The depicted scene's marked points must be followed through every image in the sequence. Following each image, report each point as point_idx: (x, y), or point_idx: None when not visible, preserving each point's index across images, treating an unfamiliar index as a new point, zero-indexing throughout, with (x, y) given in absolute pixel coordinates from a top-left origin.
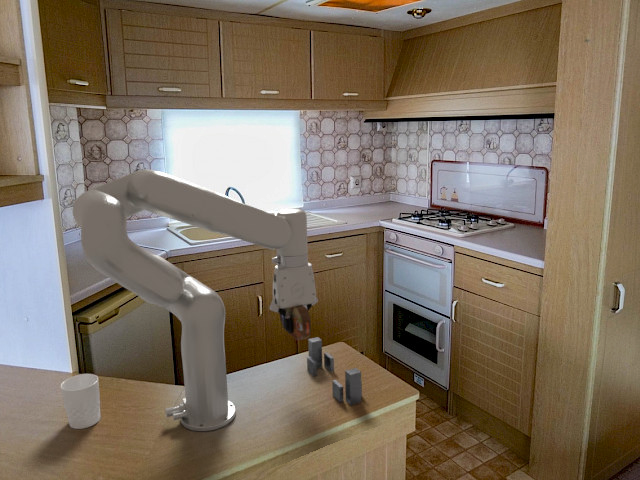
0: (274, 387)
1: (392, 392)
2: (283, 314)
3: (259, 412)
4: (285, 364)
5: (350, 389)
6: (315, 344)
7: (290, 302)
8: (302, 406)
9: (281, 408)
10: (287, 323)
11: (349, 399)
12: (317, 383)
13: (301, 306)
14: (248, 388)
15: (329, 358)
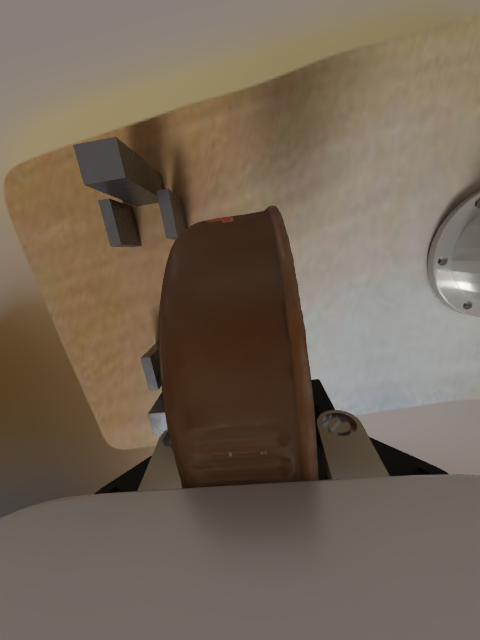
0: (305, 324)
1: (46, 197)
2: (384, 451)
3: (376, 226)
4: None
5: (141, 158)
6: None
7: (449, 577)
8: None
9: (321, 224)
10: (320, 398)
11: (156, 175)
12: None
13: (211, 463)
14: (362, 341)
15: (152, 360)
